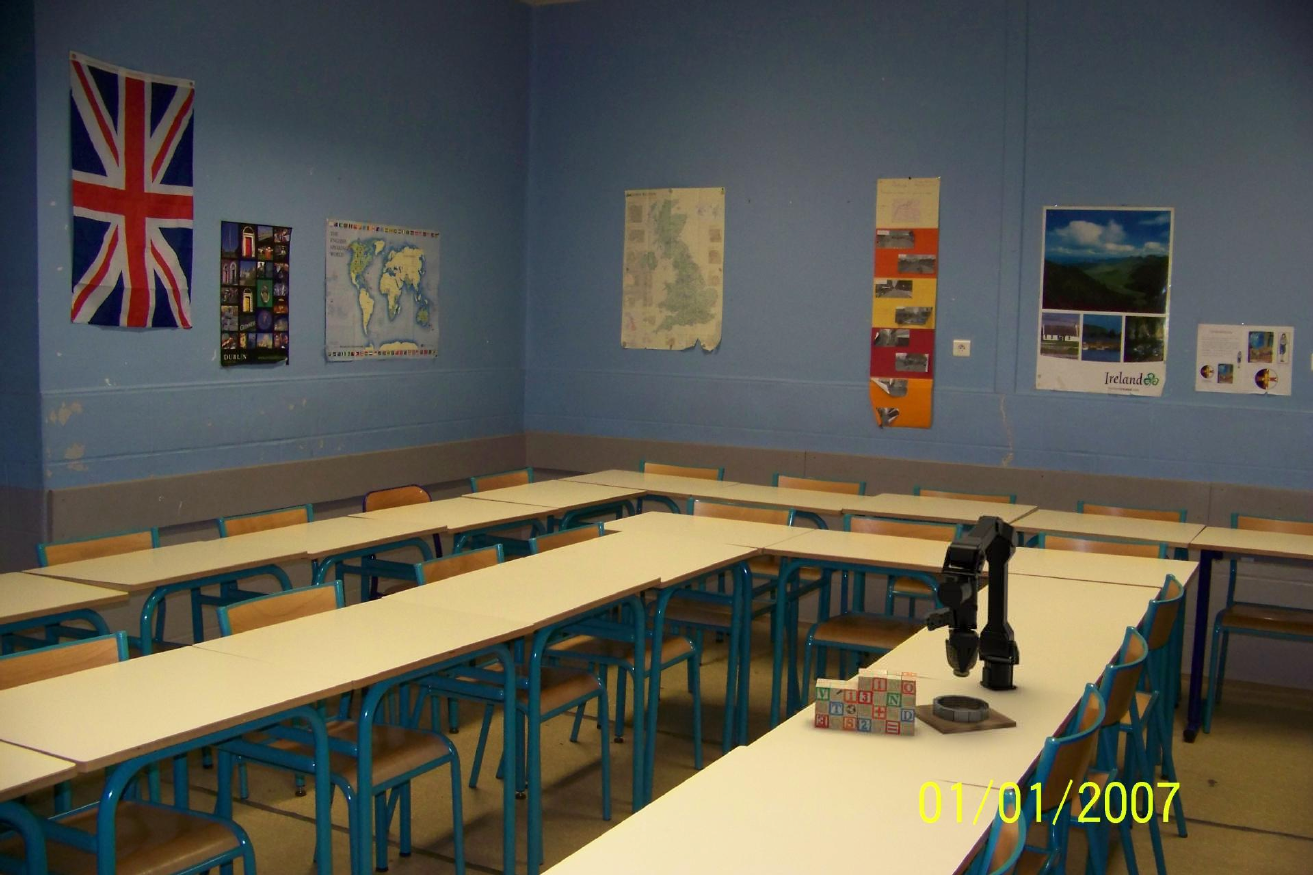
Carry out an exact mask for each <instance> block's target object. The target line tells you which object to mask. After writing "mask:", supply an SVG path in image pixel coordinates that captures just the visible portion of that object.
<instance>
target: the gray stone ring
mask: <svg viewBox="0 0 1313 875" xmlns="http://www.w3.org/2000/svg"><path fill="white" fill-rule="evenodd" d="M932 704H933V715H935V716H936V717H938V718H940V719H943V720H947V721H951V722H958V723H978V722H983V721H985V720H987V719H989V707H990V706H989V705H990V704H989V702H988V701H985V700H984V699H981V698H979V697H975V696H969V695H961V694H946V695H944V694H943V695H939V696H936V697H934V698H933V699H932ZM947 707H962V708H969V709H973V710H969V711H966V710H954V709H950V708H947Z"/></svg>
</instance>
